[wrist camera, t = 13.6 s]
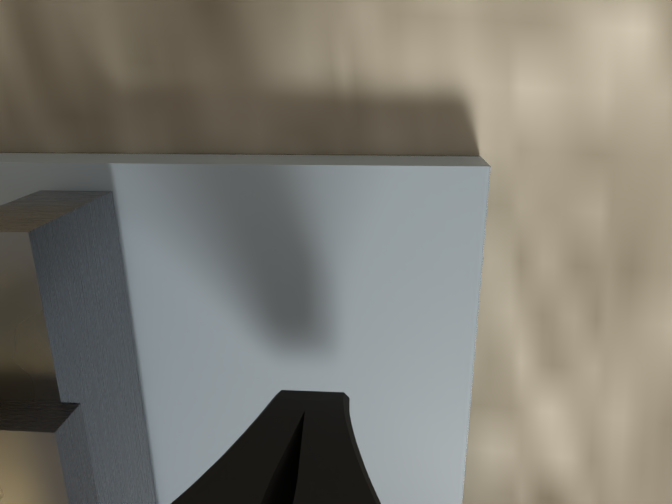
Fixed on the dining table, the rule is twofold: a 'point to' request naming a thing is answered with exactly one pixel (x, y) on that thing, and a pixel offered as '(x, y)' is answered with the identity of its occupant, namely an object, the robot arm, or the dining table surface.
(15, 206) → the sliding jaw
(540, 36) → the dining table surface
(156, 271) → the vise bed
